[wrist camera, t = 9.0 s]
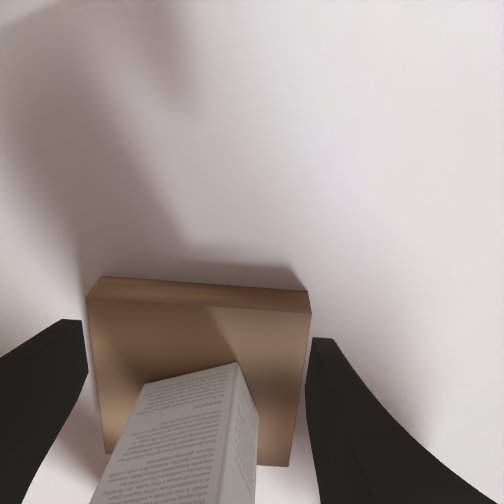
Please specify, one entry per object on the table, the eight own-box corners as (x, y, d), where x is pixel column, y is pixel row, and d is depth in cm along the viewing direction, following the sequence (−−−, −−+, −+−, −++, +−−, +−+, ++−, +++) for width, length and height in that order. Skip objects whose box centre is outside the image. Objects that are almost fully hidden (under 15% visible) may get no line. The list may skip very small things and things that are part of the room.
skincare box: (170, 436, 25) (83, 702, 14) (143, 381, 24) (23, 628, 13) (263, 417, 24) (249, 687, 13) (241, 358, 23) (203, 603, 12)
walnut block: (286, 429, 29) (288, 467, 27) (120, 417, 29) (105, 453, 27) (306, 285, 24) (311, 314, 22) (105, 270, 24) (85, 297, 22)
